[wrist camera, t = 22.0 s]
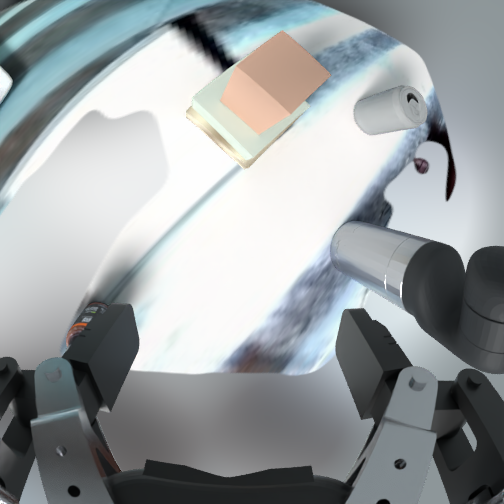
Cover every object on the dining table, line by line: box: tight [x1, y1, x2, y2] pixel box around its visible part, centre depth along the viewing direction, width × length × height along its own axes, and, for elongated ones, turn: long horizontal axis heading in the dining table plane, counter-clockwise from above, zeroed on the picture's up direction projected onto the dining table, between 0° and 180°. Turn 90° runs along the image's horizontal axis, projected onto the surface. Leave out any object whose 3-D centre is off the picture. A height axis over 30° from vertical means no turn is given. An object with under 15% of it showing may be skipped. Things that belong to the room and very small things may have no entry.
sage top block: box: [192, 50, 310, 161], centre depth 30 cm, size 10×10×4 cm
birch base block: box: [186, 106, 303, 169], centre depth 34 cm, size 11×11×4 cm
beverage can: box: [354, 86, 427, 135], centre depth 34 cm, size 6×6×12 cm
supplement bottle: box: [66, 302, 108, 351], centre depth 32 cm, size 6×6×11 cm
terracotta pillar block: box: [220, 30, 331, 135], centre depth 24 cm, size 6×6×10 cm
